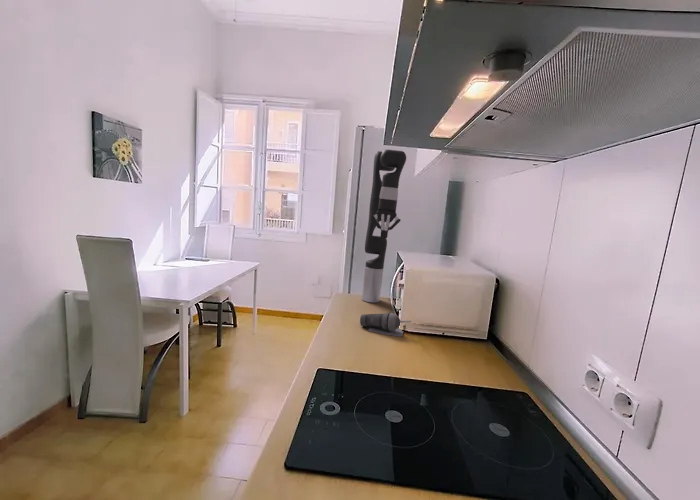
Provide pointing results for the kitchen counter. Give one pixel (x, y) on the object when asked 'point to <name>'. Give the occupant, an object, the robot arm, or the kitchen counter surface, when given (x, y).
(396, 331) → the rubber mat
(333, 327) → the kitchen counter surface
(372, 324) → the beverage cup
